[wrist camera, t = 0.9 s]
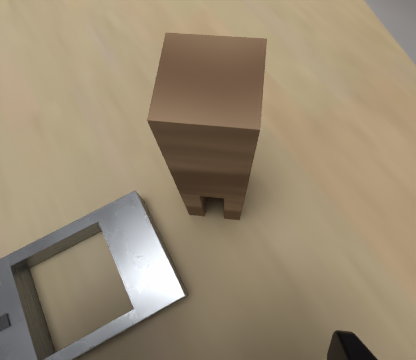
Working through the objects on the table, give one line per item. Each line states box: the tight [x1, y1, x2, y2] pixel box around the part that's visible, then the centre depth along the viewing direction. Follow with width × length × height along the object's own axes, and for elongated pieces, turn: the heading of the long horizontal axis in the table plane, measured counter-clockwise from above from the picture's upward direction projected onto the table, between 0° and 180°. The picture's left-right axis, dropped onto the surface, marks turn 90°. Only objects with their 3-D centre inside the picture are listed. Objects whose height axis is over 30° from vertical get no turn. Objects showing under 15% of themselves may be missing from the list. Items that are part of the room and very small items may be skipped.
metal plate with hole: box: [0, 191, 188, 360], centre depth 20 cm, size 8×16×2 cm, turn 118°
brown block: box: [147, 33, 267, 220], centre depth 16 cm, size 4×4×13 cm
